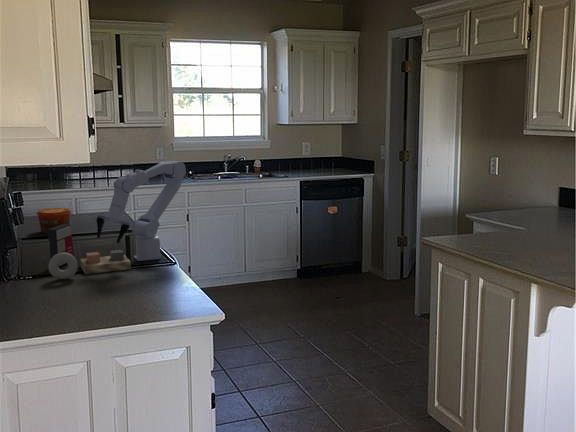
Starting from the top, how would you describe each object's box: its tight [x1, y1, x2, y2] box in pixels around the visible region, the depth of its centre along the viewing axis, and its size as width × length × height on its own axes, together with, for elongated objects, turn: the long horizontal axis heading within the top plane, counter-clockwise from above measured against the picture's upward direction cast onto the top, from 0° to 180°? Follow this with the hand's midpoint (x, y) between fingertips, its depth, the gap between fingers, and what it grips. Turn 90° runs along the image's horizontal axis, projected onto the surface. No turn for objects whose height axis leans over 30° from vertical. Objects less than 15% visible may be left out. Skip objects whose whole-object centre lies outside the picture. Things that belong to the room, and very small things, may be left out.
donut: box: [47, 252, 79, 280], centre depth 220 cm, size 10×4×10 cm, turn 112°
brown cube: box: [85, 251, 101, 264], centre depth 234 cm, size 4×4×4 cm
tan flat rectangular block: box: [79, 254, 132, 275], centre depth 236 cm, size 17×12×3 cm
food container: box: [36, 207, 72, 235], centre depth 301 cm, size 16×16×11 cm
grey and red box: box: [47, 224, 74, 268], centre depth 240 cm, size 11×4×15 cm, turn 168°
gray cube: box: [109, 249, 125, 261], centre depth 238 cm, size 4×4×4 cm
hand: (108, 240), depth 236 cm, fingers open, 7 cm apart
